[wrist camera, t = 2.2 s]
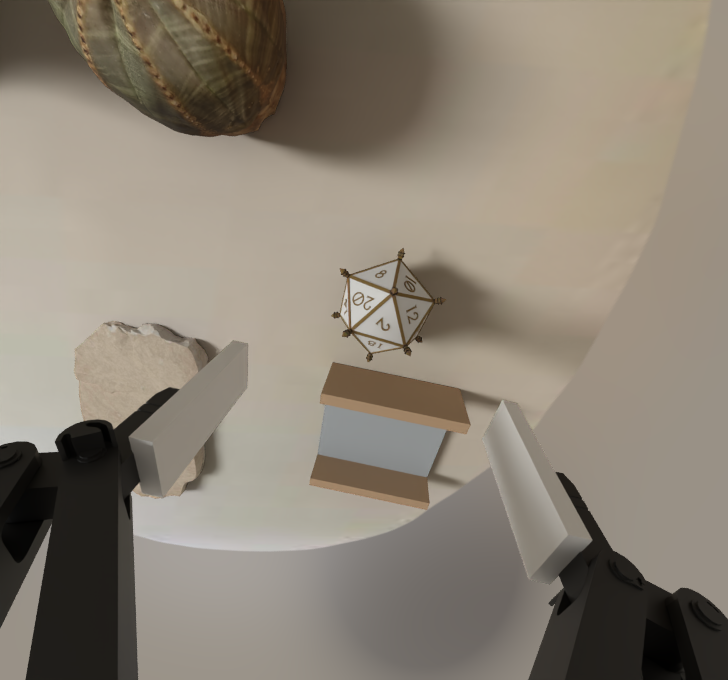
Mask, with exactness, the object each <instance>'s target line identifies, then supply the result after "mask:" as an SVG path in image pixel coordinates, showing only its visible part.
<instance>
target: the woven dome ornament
mask: <svg viewBox="0 0 728 680" xmlns="http://www.w3.org/2000/svg"><path fill="white" fill-rule="evenodd" d="M48 2H49V4H50V5H51V7H52V10H53V12H54V14H55V16H56V17H57V19H58V20H59V22H60V23H61V24H62V26H63V27H64V28H65V30H66V31H67V34H68V36H69V39H70V41H71V43H72V44H73V46H74V47H75V49H76V50H77V51H78V53H79V54H80V55H81V56H82V57H83V58H84V59H85V61H86V62H87V63H88V65H89V66H90V68H91V69H92V70H93V72H94V73H95V74H96V76H97V77H98V78H99V79H100V80H101V81H102V83H103V84H104V85H105V86H106V87H107V88H109V89H110V90H111V91H113V92H114V93H116V94H117V95H119V96H120V97H122V98H123V99H125V100H126V101H127V102H129V103H130V104H131V105H133V106H134V107H135V108H137V109H138V110H139V111H140V112H142V113H143V114H144V115H146V116H148V117H150V118H151V119H153V120H155V121H157V122H159V123H161V124H163V125H165V126H167V127H169V128H170V129H172V130H174V131H177V132H180V133H184V134H189V135H197V136H205V137H214V136H219V135H227V136H238V135H242V134H246V133H249V132H255V131H257V130H258V129H259V127H260V125H261V123H262V122H263V120H264V119H265V118H267V117H268V116H270V115H274V114H275V111H276V107H277V105H278V102H279V99H280V97H281V94H282V92H283V89H284V86H285V80H286V69H287V58H286V12H285V8H284V4H283V0H48Z"/></svg>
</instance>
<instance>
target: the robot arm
mask: <svg viewBox="0 0 728 680" xmlns="http://www.w3.org/2000/svg"><path fill="white" fill-rule="evenodd" d="M247 381H248V343H243V342H239V341H234V340H233V341H232V342H231V343H230V344H229V345H228V346H226V347H225V348H224V349H223V350H222V351H221V352H220V353H219V354H218V355H217V356H216V357H215V358H213V359H212V360H211V361H210V362H209V363H208V364H207V365H206V366H205V367H204V368H203V369H202V370H200V371H199V372H198V373H197V374H196V375H195V376H194V377H193V378H192V379H191V380H190V381H189V382H187V383H186V384H185V385H184V386H183V387H182V388H181V389H177V388H172V387H169V388H167V389H164V390H162V391H160V392H158V393H156V394H155V395H154V396H152V397H151V398H150V399H149V400H148V401H147V402H146V404H143V405H142V406H141V407H140V408H138V410H137V411H135V412H134V413H132V414H131V415H130V416H129V417H128V418H127V419H125V420H124V421H123V422H122V423H121V424H119V425H118V426H117V427H116V428H115V429H114V428H113V426H112V423H110V422H108V421H106V420H100V419H95V420H87V421H83V422H80V423H77V424H74V425H72V426H71V427H69V428H67V429H65V430H64V431H63V432H62V433H60V434H59V435H58V437H57V439H56V441H55V444H56V446H57V449H58V451H59V452H48V453H38V450H37V448H36V447H35V445H34V444H32V443H30V442H13V443H8V444H4V445H1V446H0V627H1V626H2V624H3V622H4V620H5V617H6V616H7V613H8V611H9V609H10V607H11V605H12V603H13V601H14V599H15V597H16V595H17V593H18V591H19V589H20V587H21V585H22V583H23V581H24V579H25V577H26V575H27V573H28V571H29V569H30V566H31V564H32V562H33V560H34V558H35V556H36V554H37V552H38V550H39V548H40V546H41V544H42V542H43V540H44V538H45V536H46V534H47V532H48V530H49V528H50V526H51V524H52V527H51V533H50V538H49V544H48V551H47V556H46V563H45V568H44V574H43V580H42V586H41V592H40V598H39V604H38V609H37V615H36V621H35V627H34V633H33V639H32V645H31V651H30V657H29V663H28V668H27V674H26V680H138V665H137V637H136V605H135V577H134V547H133V517H132V496H131V492H132V490H133V489H134V488H135V487H136V486H137V485H138V484H139V483H140V487H141V492H142V493H143V494H148V495H152V496H157V497H161V498H163V497H164V496H165V495H166V493H167V492H168V491H169V490H170V488H171V487H172V486H173V484H174V483H175V482H176V480H177V479H178V478H179V476H180V475H181V474H182V472H183V471H184V470H185V468H186V467H187V466H188V465H189V463H190V462H191V461H192V459H193V458H194V457H195V455H196V454H197V453H198V451H199V450H200V449H201V447H202V446H203V445H204V443H205V442H206V441H207V440H208V438H209V437H210V436H211V434H212V433H213V432H214V430H215V429H216V428H217V426H218V425H219V424H220V422H221V421H222V420H223V418H224V417H225V416H226V415H227V413H228V412H229V411H230V409H231V408H232V407H233V405H234V404H235V403H236V401H237V400H238V399H239V397H240V396H241V395H242V393H243V392H244V391H245V390H246V388H247ZM482 440H483V443H484V446H485V449H486V452H487V455H488V458H489V461H490V464H491V467H492V470H493V473H494V476H495V479H496V482H497V485H498V488H499V491H500V494H501V498H502V500H503V503H504V507H505V509H506V513H507V515H508V518H509V521H510V525H511V528H512V531H513V534H514V537H515V540H516V543H517V546H518V549H519V552H520V555H521V558H522V561H523V564H524V567H525V570H526V573H527V576H528V579H529V580H532V581H537V582H541V583H546V584H551V583H552V582H553V581H554V580H555V579H556V578H557V577H558V576H559V577H560V579H561V582H562V584H563V586H564V588H563V589H562V590H561V591H560V592H559V593H558V594H557V595H556V596H555V597H554V598H553V599H552V600H551V601H550V602H549V604H550V605H551V606H553V605H554V604H555V606H554V609H553V612H552V614H551V617H550V620H549V623H548V626H547V629H546V631H545V634H544V637H543V640H542V643H541V645H540V648H539V651H538V654H537V657H536V660H535V662H534V665H533V668H532V671H531V674H530V677H529V679H528V680H728V619H727V618H726V617H725V616H724V614H723V613H722V612H721V611H720V610H719V609H718V608H717V607H716V606H715V605H714V604H713V603H712V602H710V601H709V600H708V599H706V598H705V597H704V596H702V595H701V594H699V593H697V592H695V591H693V590H691V589H688V588H680V589H679V590H677V591H676V592H675V593H673V594H671V593H669V592H667V591H665V590H663V589H662V588H659V587H658V586H656V585H654V584H652V583H650V582H648V581H646V580H645V579H644V577H643V575H642V574H641V573H640V572H639V570H638V569H637V568H636V567H635V566H634V565H633V564H632V563H631V562H630V561H629V560H628V559H626V558H625V557H624V556H622V555H620V554H618V553H617V552H615V551H613V550H612V548H611V547H610V545H609V544H608V542H607V540H606V538H605V537H604V535H603V533H602V531H601V530H600V528H599V527H598V525H597V523H596V521H595V520H594V518H593V516H592V515H591V513H590V511H588V508H587V506H586V504H585V503H584V501H583V500H582V497H581V496H580V494H579V492H578V491H577V489H576V487H575V486H574V484H573V483H572V482H571V481H570V480H569V479H568V478H567V477H566V476H565V475H564V474H563V473H559V472H555V471H554V469H553V467H552V466H551V464H550V462H549V460H548V458H547V456H546V454H545V453H544V451H543V449H542V447H541V445H540V444H539V442H538V440H537V438H536V436H535V434H534V433H533V431H532V429H531V427H530V425H529V423H528V422H527V420H526V418H525V416H524V414H523V413H522V411H521V409H520V407H519V405H518V403H515V402H510V401H506V400H502V402H501V404H500V405H499V407H498V409H497V411H496V413H495V415H494V417H493V419H492V421H491V423H490V425H489V427H488V429H487V431H486V433H485V434H484V436H483V438H482Z"/></svg>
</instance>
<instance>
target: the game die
mask: <svg viewBox="0 0 728 680" xmlns="http://www.w3.org/2000/svg"><path fill="white" fill-rule="evenodd" d="M404 254H405V253H404V249H401V250H400V251H399V253H398V259H396V260H393V261H390V262H387V263H384V264H381V265H377V266H374V267H371V268H368V269H365V270H362V271H359V272H356V273H353V274H349V273H348V271H346V269H341V268H340V271H341V275H343V277H344V276H345V277H347V281H346V286H345V291H344V296H343V300H342V305H341V310H340V313H338V312H337V313H335V312H334V314H333V315H332V317H334V318H339V317H341V319H342V320H343V322H344V323H345V325H346V326H347V328H348V329H347V330H345V331H343V335H342V337H347V338H348V336H350V334H352V335H353V336H354V337H355V338H356V339H357V340H358V341H359V342H360V343H361V345H362V346H363V347H364V348H365V349H366V350H367V351H368V352H369V354H368V355H367V357H366V358H367V362H369V361H371V360H372V357H373V356H372V354H374V353H379V352H385V351H390V350H395V349H401V348H404V352H405V354H407V355H409V356H411V352H412V351H411V349H410V348H409V347H408V345H409V344H410V343H411V342H412V341H413V340H414V339H415V340H416V341H417V342H418V343H419V342H422V337H420V336H418V334H419V332H420V330H421V328H422V326H423V325H424V323H425V321H426V319H427V317H428V315H429V313H430V311H431V309H432V308H433V306H434V304H435V303H436V304H442V303H443V302H444V301H445V300H446V299H443V298H441V297H440V298H437V299H433V297H432V296H431V295H430V294H429V293H428V291H427V290H426V289H425V288H424V287H423V285H422V284H421V283H420V282H419V281H418V279H417V278H416V277H415V276H414V275H413V273H412V272H411V271H410V270H409V268H408V267H407V266H406V265H405V264H404V262H403V261H402V258H403V257H404Z"/></svg>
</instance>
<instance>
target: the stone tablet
mask: <svg viewBox="0 0 728 680" xmlns="http://www.w3.org/2000/svg"><path fill="white" fill-rule="evenodd" d="M207 361H208V356H207V354H206V352H205V350H204V349H203V348H202V347H201V345H199V344H198V343H197V341H196V339H195V338H181V337H179V336H175V335H174V334H173V333H172V332H170V331H169V330H167V329H166V328H164V327H162V326H160V325H158V324H142V326H141V327H139V328H132V327H130V326H127V325H124V324H123V323H120V322H117V321H111V322H108V323H103V324H102V325H101V326H100V327H99V328H98V329H96V330H95V331H94V332H93V334H92V335H91V336H90V337H88V338H87V339H86V340H85V341H84V342H83V343H82V344H81V345H80V346H78V347H77V348H76V349H75V368H74V373H75V376H76V379H78V380H79V398H80V405H81V412H82V415H83V419H84V421H87V420H95V419H100V420H106V421H108V422H110V423H112V426H113V428H114V429H115V428H116V427H117V426H118V425H119V424H121V423H122V422H123V421H124V420H125V419H127V418H128V417H129V416H130V415H131V414H132V413H134V412H135V411H137V410H138V408H140V407H141V406H142V405H143V404H146V402H147V401H148V400H149V399H150V398H151V397H152V396H154V395H155V394H156V393H158V392H160V391H162V390H164V389H167V388H169V387H172V388H177V389H181V388H182V387H183V386H184V385H185V384H186V383H187V382H189V381H190V380H191V379H192V378H193V377H194V376H195V375H196V374H197V373H198V372H199V371H200V370H202V369H203V368H204V367H205V366H206V365H207ZM204 461H205V445H203V446H202V447H201V449H200V450H199V451H198V453H197V454H196V455H195V457H194V458H193V459H192V461H191V462H190V463H189V465H188V466H187V467H186V468H185V470H184V471H183V472H182V474H181V475H180V476H179V478H178V479H177V480H176V482H175V483H174V484H173V486H172V487H171V488H170V490H169V491H168V492H167V493H166V495H165V496H164V497H166V496H174V495H175V496H180V495H181V494H182V493H183V492H184V490H185V489H186V487H187V484H188V482H189V481H193V480H194V479H195V478H197V477H198V476H199V474H200V473H201V472H202V470H203V466H204ZM133 491H134V492H135V493H136V494H139V495H140V496H150V497H152V498H155V499H156V498H161V497H157V496H152V495H148V494H143V493H142V492H141V487H140V483H139V484H138V485H137V486H136V487H135V488H134V489H133ZM164 497H163V498H164Z"/></svg>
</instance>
